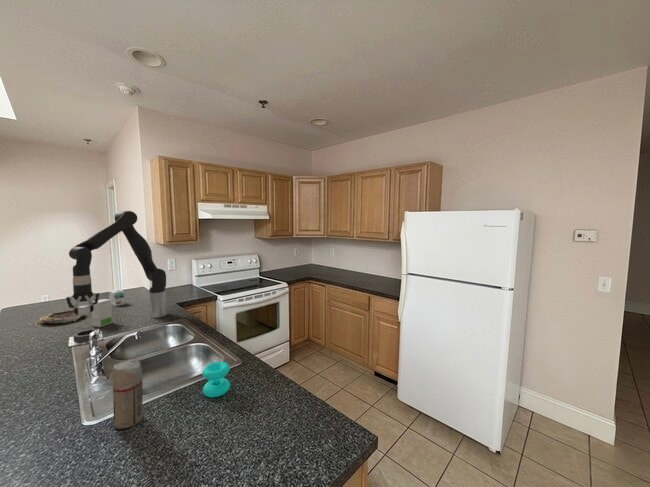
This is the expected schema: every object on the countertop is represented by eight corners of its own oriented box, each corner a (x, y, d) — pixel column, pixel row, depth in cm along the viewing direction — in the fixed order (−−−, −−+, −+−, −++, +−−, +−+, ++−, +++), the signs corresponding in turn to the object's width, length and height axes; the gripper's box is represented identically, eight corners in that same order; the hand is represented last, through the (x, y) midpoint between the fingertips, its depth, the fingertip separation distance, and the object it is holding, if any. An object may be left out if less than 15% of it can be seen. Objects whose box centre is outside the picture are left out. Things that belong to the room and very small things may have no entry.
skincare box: (100, 327, 168) (98, 302, 167) (91, 326, 169) (89, 302, 168) (113, 322, 176) (111, 299, 175) (104, 321, 177) (103, 298, 176)
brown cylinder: (124, 412, 95) (121, 357, 93) (149, 411, 95) (146, 357, 94) (107, 431, 86) (103, 371, 85) (134, 430, 87) (130, 370, 85)
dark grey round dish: (101, 331, 162) (101, 325, 161) (103, 339, 151) (102, 333, 151) (69, 338, 152) (69, 332, 152) (68, 347, 142) (68, 340, 142)
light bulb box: (125, 304, 213) (124, 290, 212) (115, 306, 208) (114, 292, 207) (119, 302, 219) (118, 288, 218) (109, 304, 213) (108, 290, 212)
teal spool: (218, 357, 113) (235, 364, 108) (219, 380, 114) (235, 388, 109) (196, 368, 105) (212, 376, 99) (197, 393, 106) (213, 402, 100)
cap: (90, 311, 154) (90, 304, 154) (90, 314, 150) (90, 306, 150) (77, 313, 151) (77, 306, 150) (77, 316, 147) (77, 308, 146)
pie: (90, 310, 199) (90, 304, 199) (93, 321, 180) (93, 314, 179) (35, 320, 180) (34, 312, 180) (31, 333, 161) (31, 325, 160)
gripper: (98, 280, 157) (100, 308, 158) (64, 283, 147) (66, 314, 148) (99, 282, 151) (101, 312, 152) (63, 286, 141) (66, 318, 143)
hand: (84, 313), depth 150 cm, fingers closed on cap, 5 cm apart
